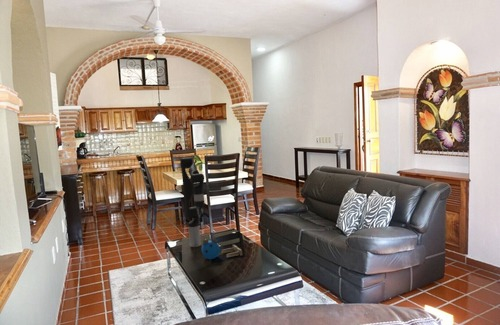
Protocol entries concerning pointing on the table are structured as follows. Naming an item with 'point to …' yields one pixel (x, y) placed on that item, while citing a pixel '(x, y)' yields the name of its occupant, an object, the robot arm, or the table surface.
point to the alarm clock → (210, 248)
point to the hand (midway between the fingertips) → (201, 221)
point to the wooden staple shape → (235, 248)
